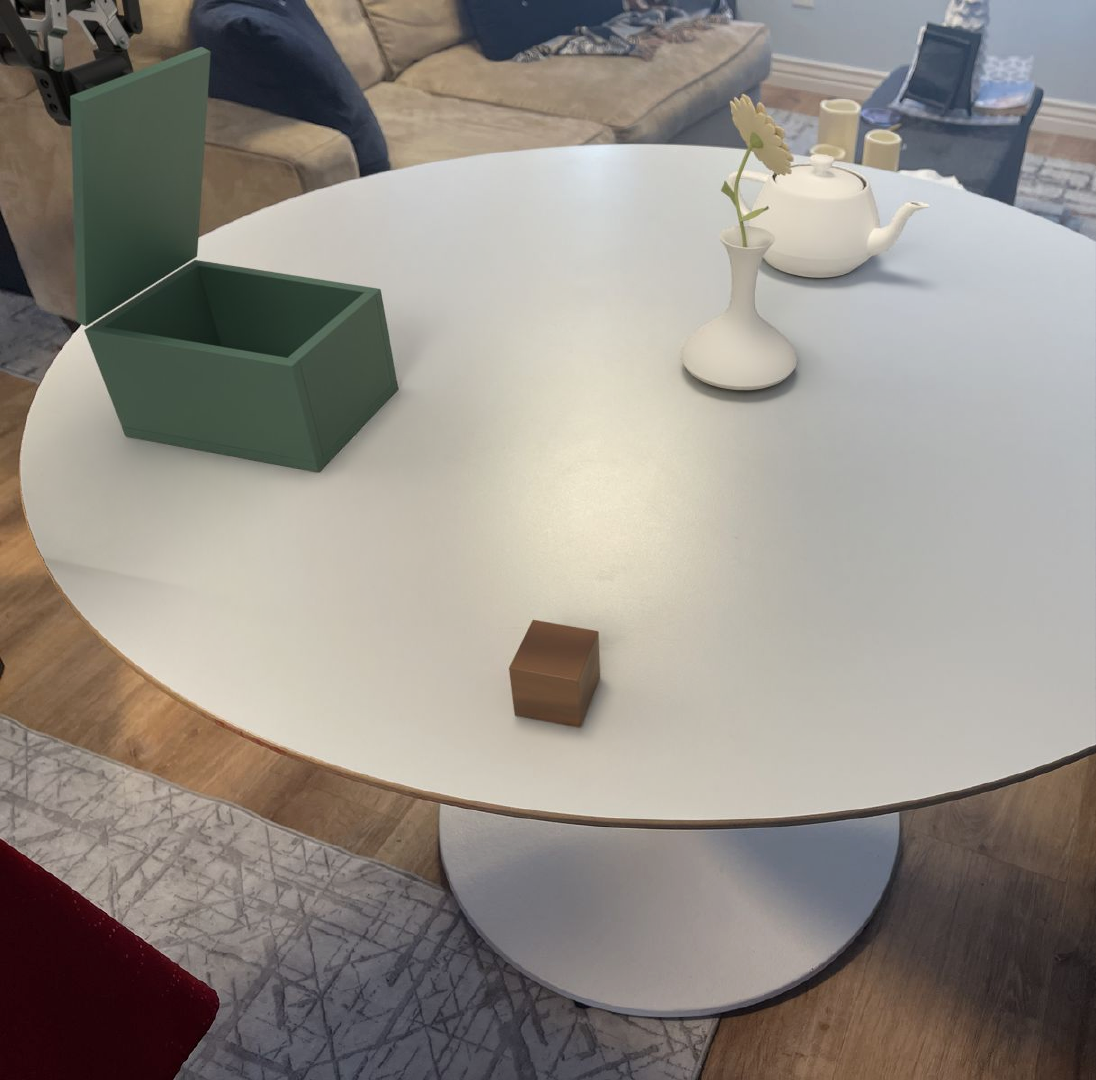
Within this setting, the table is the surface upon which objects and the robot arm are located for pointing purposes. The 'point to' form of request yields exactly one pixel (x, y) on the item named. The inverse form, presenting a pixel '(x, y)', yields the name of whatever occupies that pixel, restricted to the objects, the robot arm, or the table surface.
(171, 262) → the lid
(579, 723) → the block
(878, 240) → the teapot
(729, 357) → the flower in vase
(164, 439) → the box
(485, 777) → the table surface
